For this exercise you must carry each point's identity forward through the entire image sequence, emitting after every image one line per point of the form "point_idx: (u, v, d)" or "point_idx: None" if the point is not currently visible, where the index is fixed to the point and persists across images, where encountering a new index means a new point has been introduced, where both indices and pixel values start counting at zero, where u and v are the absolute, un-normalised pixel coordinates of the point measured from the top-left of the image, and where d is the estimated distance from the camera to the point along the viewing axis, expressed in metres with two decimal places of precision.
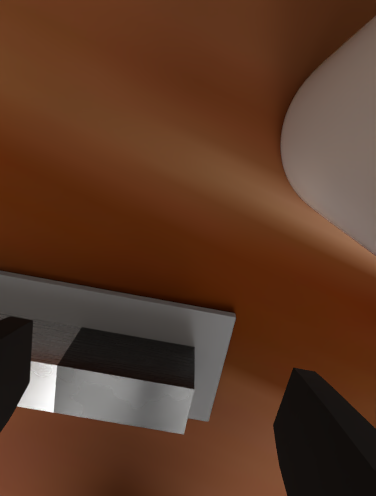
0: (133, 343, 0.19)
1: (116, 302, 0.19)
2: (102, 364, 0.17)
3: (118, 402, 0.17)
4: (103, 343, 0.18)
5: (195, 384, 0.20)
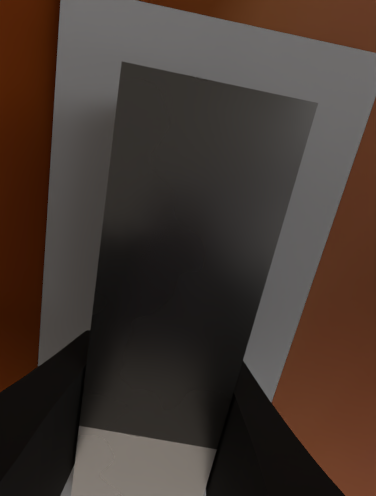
0: None
1: (58, 266, 0.10)
2: None
3: (183, 302, 0.06)
4: None
5: None
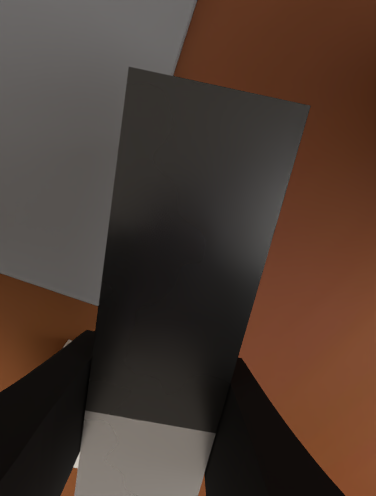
0: None
1: None
2: None
3: (184, 292, 0.06)
4: None
5: None
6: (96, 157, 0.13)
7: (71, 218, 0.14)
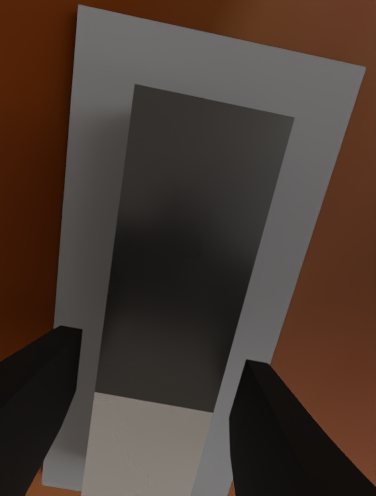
0: None
1: (72, 254, 0.11)
2: None
3: (184, 283, 0.07)
4: None
5: (255, 101, 0.09)
6: None
7: None
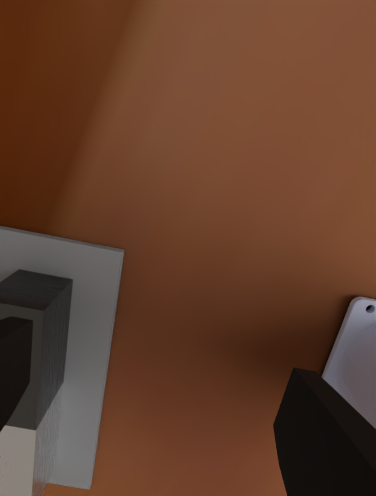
0: None
1: None
2: None
3: None
4: None
5: (68, 267, 0.17)
6: (70, 411, 0.20)
7: (61, 444, 0.21)
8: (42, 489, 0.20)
